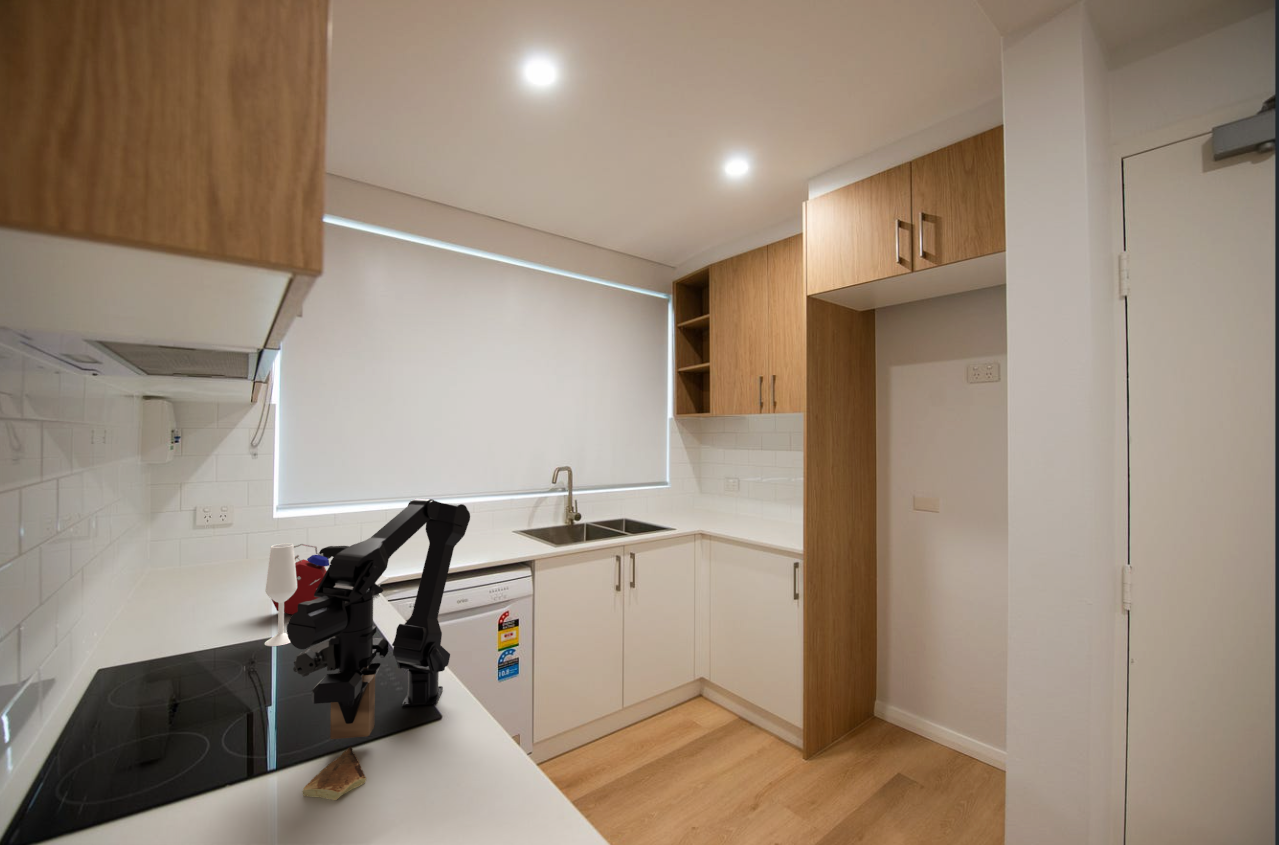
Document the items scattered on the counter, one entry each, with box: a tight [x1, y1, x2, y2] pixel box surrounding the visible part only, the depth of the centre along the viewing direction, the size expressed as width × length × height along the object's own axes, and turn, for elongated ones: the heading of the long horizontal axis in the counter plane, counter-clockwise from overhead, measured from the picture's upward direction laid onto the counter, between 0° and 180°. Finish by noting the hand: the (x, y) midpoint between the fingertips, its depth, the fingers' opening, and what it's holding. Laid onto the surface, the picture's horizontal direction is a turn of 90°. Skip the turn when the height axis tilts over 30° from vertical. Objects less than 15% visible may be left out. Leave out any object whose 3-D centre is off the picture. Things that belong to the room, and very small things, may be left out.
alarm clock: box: [270, 543, 330, 616], centre depth 155 cm, size 15×9×20 cm, turn 113°
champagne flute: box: [264, 543, 297, 647], centre depth 136 cm, size 7×7×24 cm
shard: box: [301, 745, 367, 801], centre depth 84 cm, size 11×8×2 cm
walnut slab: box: [329, 675, 376, 740], centre depth 92 cm, size 3×6×9 cm, turn 100°
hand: (353, 717), depth 92 cm, fingers closed on walnut slab, 3 cm apart
